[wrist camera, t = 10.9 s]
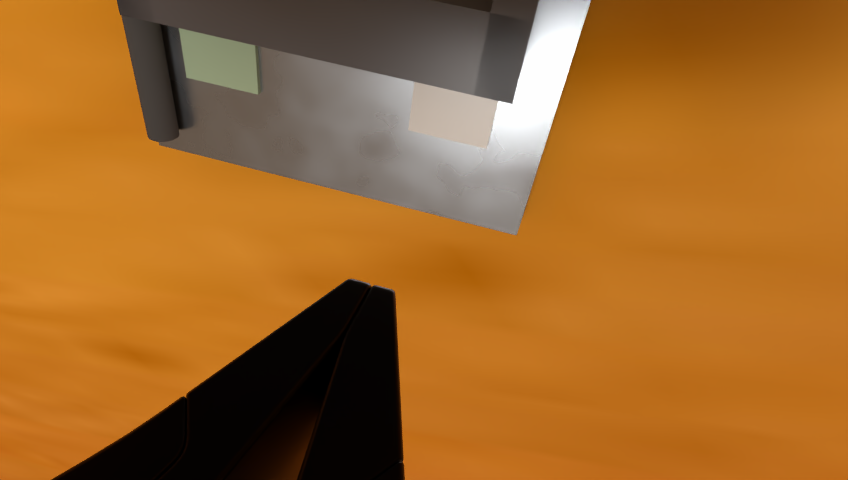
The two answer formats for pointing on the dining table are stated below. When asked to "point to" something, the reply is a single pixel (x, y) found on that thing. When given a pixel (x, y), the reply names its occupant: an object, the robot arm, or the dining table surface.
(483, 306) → the dining table surface
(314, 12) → the box
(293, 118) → the panel
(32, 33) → the dining table surface
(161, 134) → the grey flat frame
